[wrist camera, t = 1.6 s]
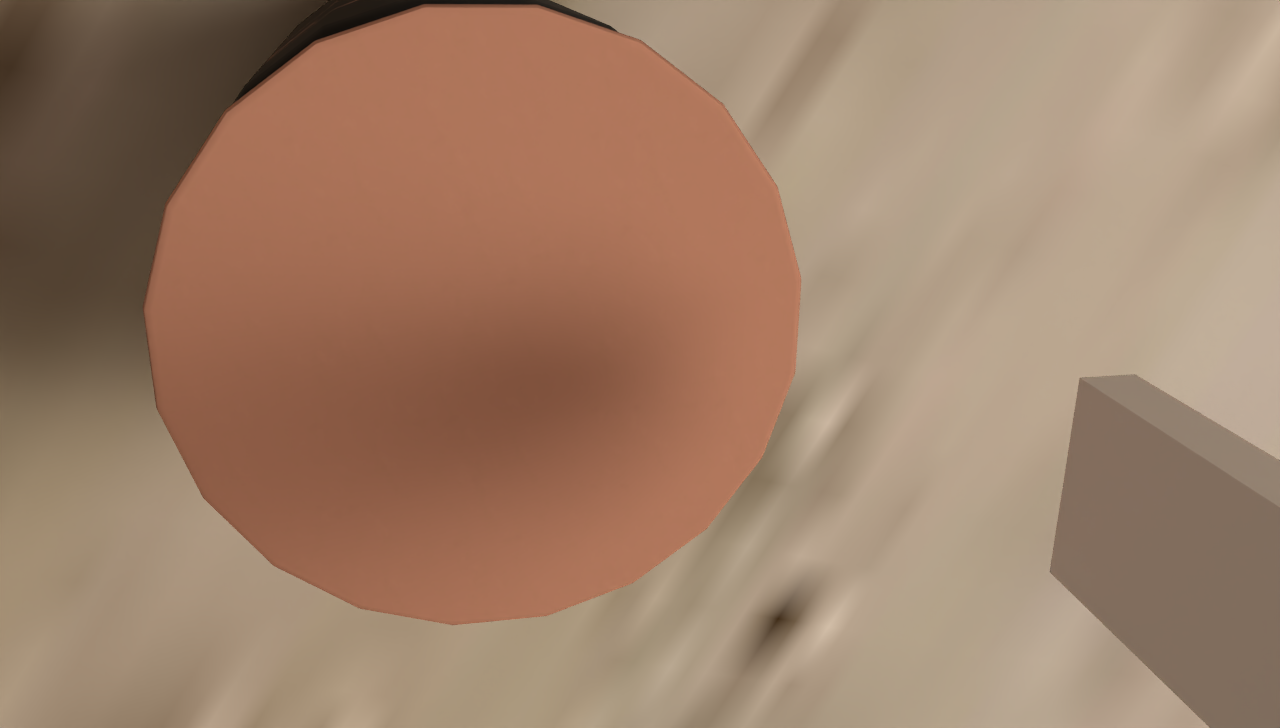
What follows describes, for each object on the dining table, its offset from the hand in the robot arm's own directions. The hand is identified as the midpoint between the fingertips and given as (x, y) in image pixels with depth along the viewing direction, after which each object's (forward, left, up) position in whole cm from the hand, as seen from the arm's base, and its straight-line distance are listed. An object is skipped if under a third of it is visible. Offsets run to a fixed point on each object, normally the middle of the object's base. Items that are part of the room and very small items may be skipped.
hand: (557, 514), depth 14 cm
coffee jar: (0, 0, -24) cm, 24 cm away
